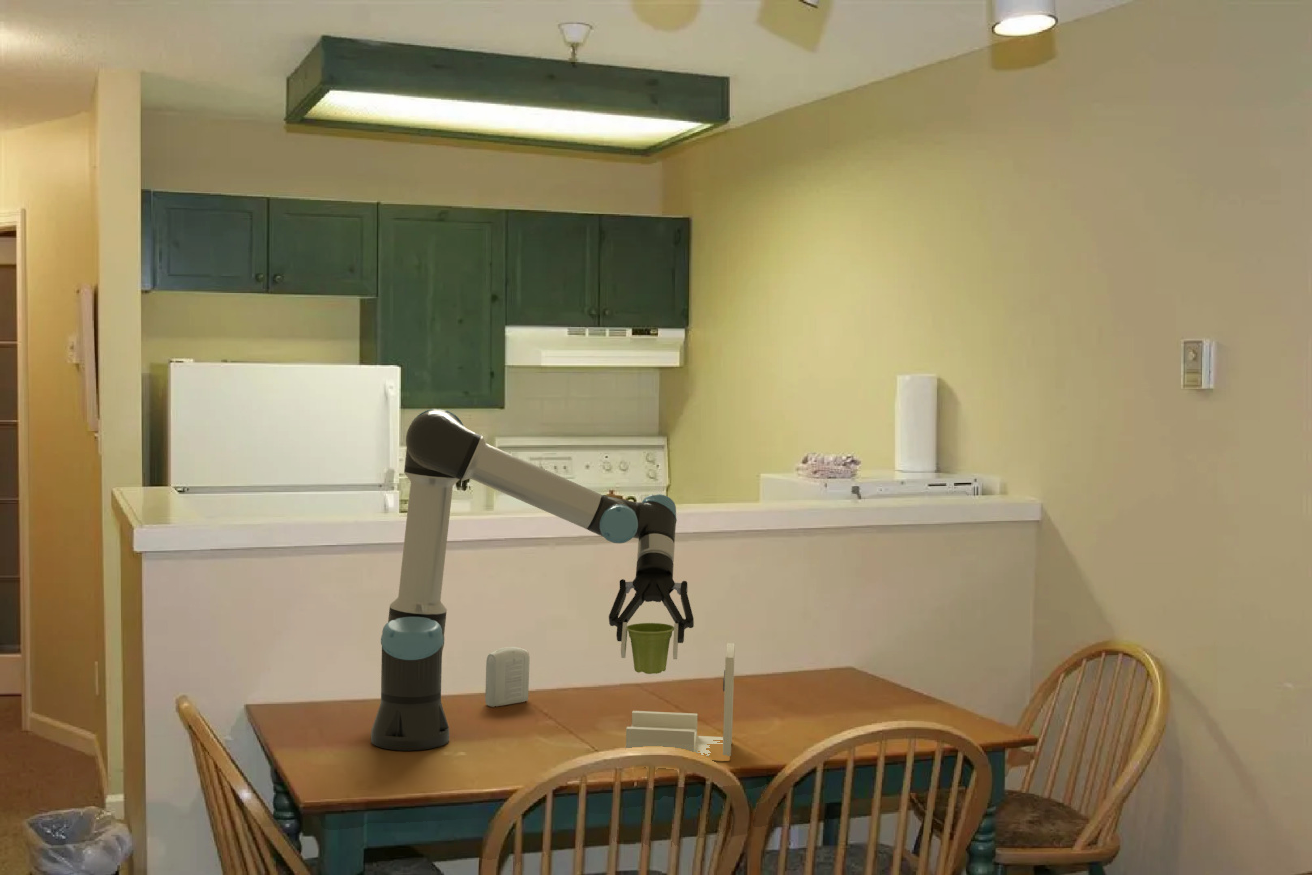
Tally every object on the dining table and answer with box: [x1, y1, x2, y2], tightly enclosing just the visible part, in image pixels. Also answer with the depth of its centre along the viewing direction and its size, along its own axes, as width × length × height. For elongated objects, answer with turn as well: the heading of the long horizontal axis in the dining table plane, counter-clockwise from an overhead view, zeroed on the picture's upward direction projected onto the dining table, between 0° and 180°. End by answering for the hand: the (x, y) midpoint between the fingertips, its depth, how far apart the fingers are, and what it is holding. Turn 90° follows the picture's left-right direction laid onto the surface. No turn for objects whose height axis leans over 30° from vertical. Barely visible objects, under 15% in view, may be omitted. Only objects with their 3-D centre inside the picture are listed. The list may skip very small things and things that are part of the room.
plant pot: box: [626, 622, 674, 675], centre depth 276 cm, size 9×9×9 cm
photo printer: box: [484, 646, 530, 708], centre depth 308 cm, size 10×4×12 cm, turn 134°
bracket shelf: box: [625, 642, 736, 757], centre depth 275 cm, size 14×20×20 cm
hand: (649, 654), depth 273 cm, fingers closed on plant pot, 9 cm apart
